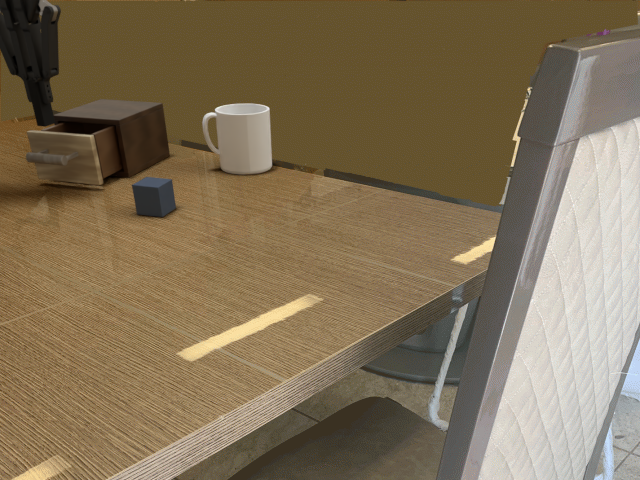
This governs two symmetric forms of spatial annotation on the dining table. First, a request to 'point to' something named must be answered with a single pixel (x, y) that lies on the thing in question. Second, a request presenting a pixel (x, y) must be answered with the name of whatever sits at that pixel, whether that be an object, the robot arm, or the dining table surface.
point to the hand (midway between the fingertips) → (46, 124)
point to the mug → (241, 138)
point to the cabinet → (127, 130)
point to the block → (154, 196)
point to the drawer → (75, 152)
